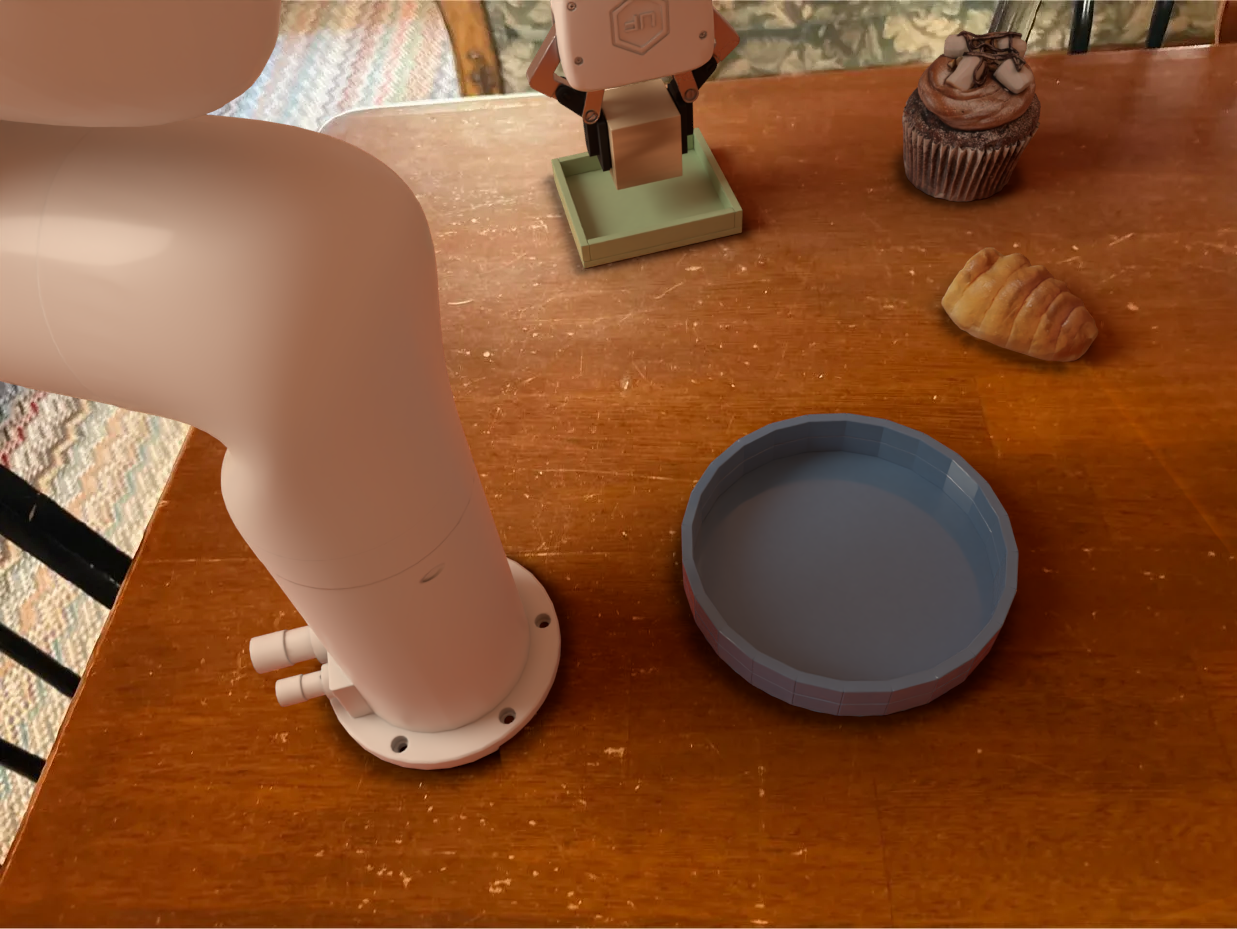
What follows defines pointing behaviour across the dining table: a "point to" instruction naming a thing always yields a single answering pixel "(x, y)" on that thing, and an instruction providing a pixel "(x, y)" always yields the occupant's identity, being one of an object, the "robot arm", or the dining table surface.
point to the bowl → (847, 563)
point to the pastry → (1019, 307)
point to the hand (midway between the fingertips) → (640, 149)
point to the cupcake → (970, 117)
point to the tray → (645, 206)
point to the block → (643, 134)
